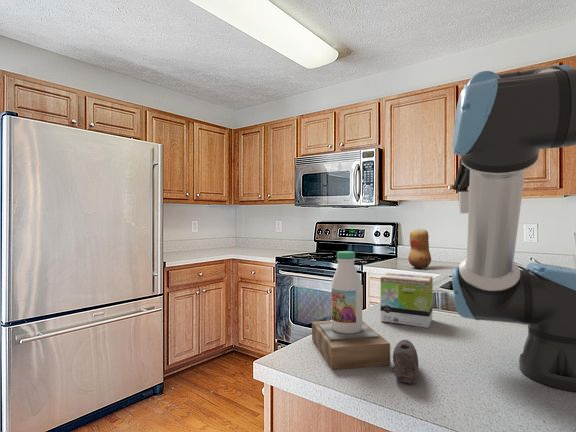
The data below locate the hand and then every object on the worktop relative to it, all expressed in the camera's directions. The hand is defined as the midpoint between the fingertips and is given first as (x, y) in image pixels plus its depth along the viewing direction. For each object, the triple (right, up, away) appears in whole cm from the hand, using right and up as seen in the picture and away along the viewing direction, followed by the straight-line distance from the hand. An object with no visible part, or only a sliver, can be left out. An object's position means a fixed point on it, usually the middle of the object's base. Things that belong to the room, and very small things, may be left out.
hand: (479, 213), depth 101 cm
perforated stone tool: (-28, -36, -22) cm, 50 cm away
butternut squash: (+29, -34, +126) cm, 134 cm away
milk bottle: (-39, -30, -9) cm, 50 cm away
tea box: (-15, -35, +16) cm, 41 cm away
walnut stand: (-39, -35, -9) cm, 53 cm away
